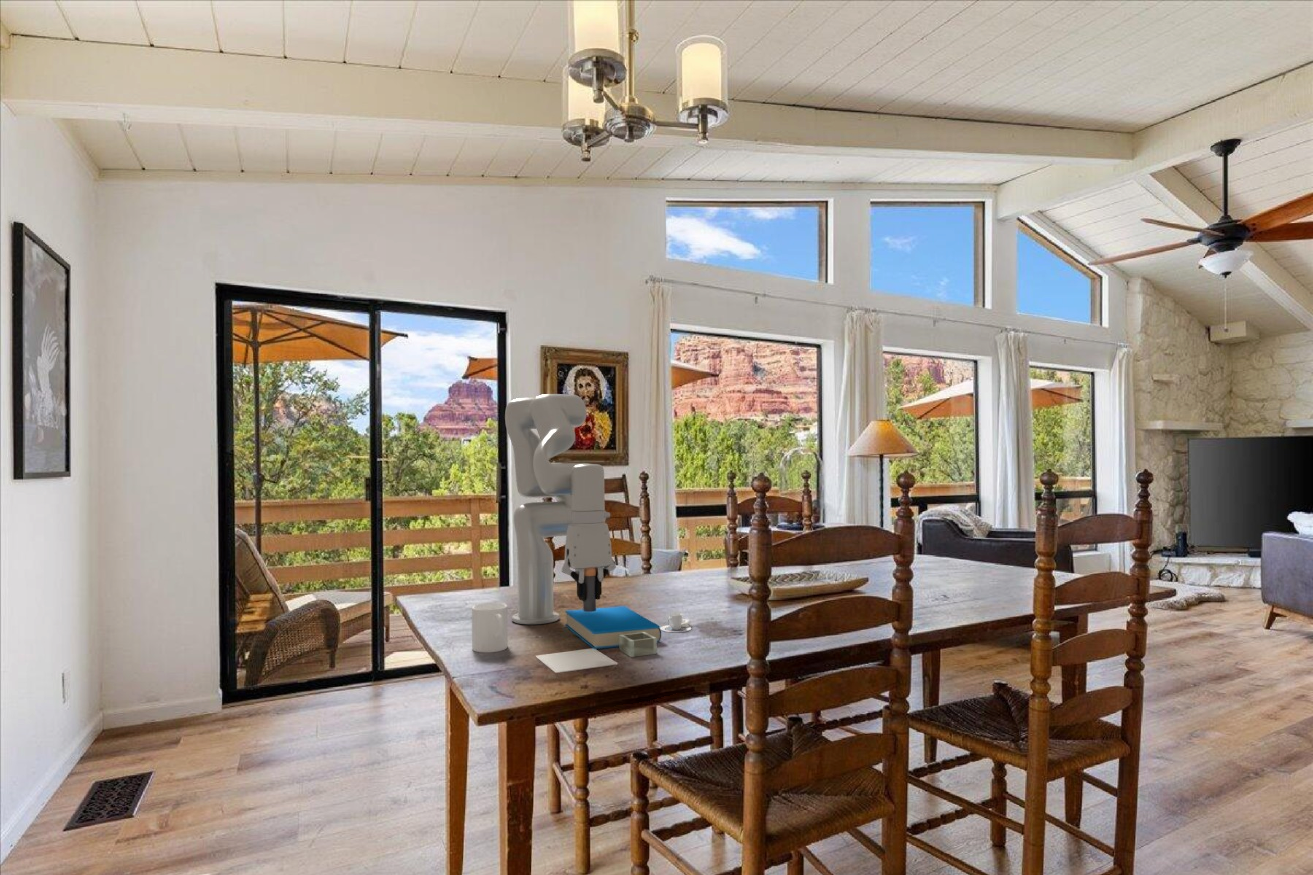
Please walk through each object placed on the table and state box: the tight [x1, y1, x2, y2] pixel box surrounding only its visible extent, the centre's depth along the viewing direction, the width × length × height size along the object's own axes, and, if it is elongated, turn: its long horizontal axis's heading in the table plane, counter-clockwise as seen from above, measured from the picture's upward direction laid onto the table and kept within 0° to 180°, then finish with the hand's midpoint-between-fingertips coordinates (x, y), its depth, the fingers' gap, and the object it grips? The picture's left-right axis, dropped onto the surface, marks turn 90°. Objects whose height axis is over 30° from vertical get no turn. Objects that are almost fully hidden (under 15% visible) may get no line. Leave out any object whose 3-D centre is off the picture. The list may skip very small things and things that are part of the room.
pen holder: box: [618, 632, 658, 658], centre depth 176 cm, size 6×6×4 cm
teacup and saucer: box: [659, 612, 692, 633], centre depth 198 cm, size 9×8×4 cm
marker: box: [582, 568, 597, 612], centre depth 176 cm, size 3×3×10 cm
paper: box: [534, 647, 619, 674], centre depth 169 cm, size 14×14×1 cm
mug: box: [471, 602, 509, 654], centre depth 179 cm, size 8×12×10 cm, turn 32°
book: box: [564, 605, 662, 650], centre depth 193 cm, size 17×4×25 cm
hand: (589, 598), depth 176 cm, fingers closed on marker, 2 cm apart
